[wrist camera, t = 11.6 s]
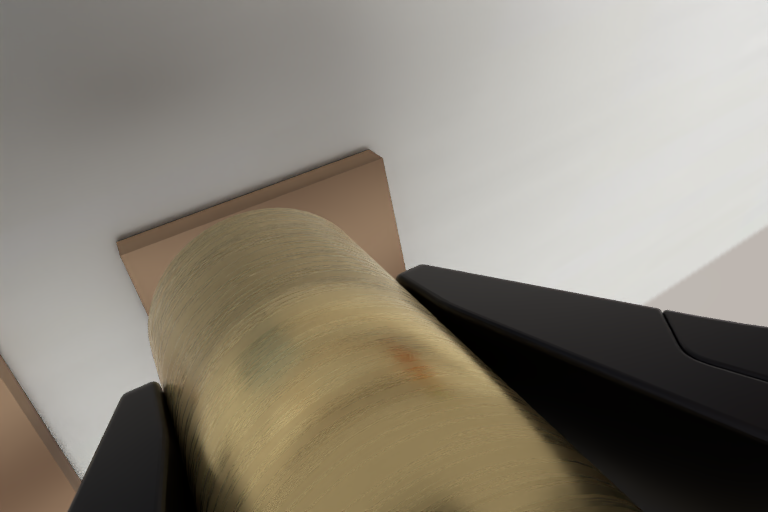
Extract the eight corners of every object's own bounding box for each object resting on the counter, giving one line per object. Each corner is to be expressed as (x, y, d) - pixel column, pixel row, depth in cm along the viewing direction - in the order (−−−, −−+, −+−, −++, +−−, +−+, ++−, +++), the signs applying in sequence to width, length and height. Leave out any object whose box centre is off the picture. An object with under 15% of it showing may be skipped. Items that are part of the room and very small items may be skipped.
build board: (116, 242, 18) (120, 257, 17) (368, 149, 21) (384, 158, 20) (218, 460, 23) (225, 481, 22) (415, 364, 25) (429, 379, 24)
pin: (107, 262, 8) (220, 778, 3) (344, 174, 9) (722, 456, 4) (195, 444, 10) (363, 971, 5) (388, 354, 10) (694, 711, 6)
